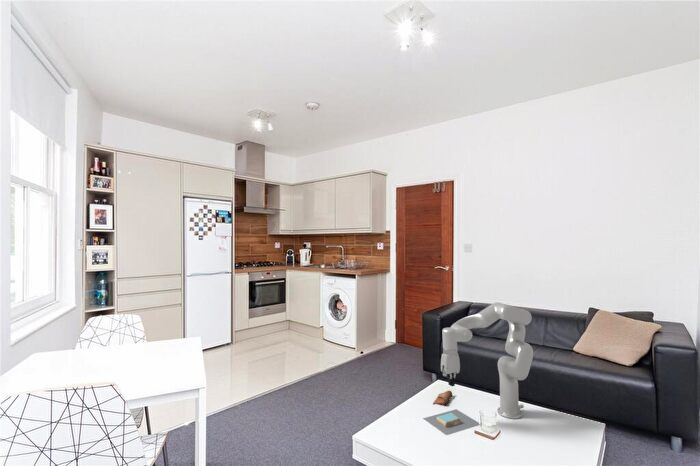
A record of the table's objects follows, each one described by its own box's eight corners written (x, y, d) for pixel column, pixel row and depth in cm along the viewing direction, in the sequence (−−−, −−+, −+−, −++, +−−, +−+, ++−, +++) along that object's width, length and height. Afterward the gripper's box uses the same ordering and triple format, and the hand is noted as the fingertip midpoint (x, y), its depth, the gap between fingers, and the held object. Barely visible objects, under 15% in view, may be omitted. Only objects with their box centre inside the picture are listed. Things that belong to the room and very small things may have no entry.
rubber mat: (456, 410, 203) (456, 409, 203) (481, 425, 186) (481, 424, 186) (422, 419, 192) (422, 418, 192) (446, 436, 175) (446, 435, 175)
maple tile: (450, 412, 194) (436, 416, 189) (460, 418, 187) (445, 422, 183) (451, 417, 193) (436, 421, 189) (460, 423, 187) (445, 427, 183)
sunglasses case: (438, 393, 226) (444, 385, 225) (448, 400, 223) (453, 392, 222) (432, 404, 210) (437, 396, 209) (442, 413, 207) (448, 404, 206)
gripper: (455, 347, 197) (457, 380, 196) (434, 351, 190) (436, 385, 190) (465, 350, 190) (467, 384, 190) (444, 355, 184) (445, 390, 183)
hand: (451, 385), depth 190 cm, fingers closed
